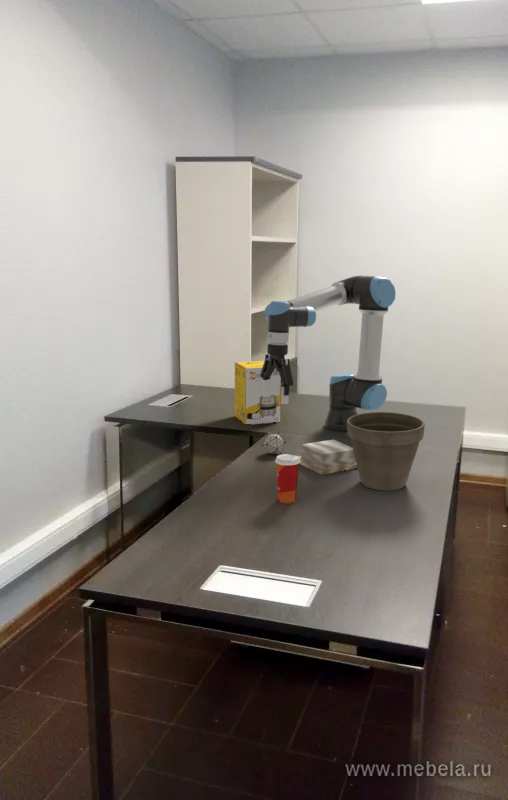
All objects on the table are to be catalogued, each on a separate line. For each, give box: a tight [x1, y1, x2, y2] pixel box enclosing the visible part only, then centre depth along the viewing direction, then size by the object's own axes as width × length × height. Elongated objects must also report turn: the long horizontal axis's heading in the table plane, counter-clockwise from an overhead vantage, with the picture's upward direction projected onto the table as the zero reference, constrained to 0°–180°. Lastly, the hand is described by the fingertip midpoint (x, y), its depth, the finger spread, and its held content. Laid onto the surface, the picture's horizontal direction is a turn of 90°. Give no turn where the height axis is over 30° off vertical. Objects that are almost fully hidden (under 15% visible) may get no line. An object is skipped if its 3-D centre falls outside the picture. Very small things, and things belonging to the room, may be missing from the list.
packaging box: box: [234, 360, 282, 425], centre depth 315 cm, size 16×16×25 cm
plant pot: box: [346, 411, 426, 492], centre depth 232 cm, size 25×25×22 cm
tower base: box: [297, 439, 358, 476], centre depth 254 cm, size 18×18×6 cm
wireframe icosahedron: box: [260, 431, 287, 456], centre depth 266 cm, size 9×8×10 cm
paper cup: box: [274, 453, 300, 505], centre depth 217 cm, size 8×8×14 cm
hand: (275, 400), depth 263 cm, fingers open, 13 cm apart
